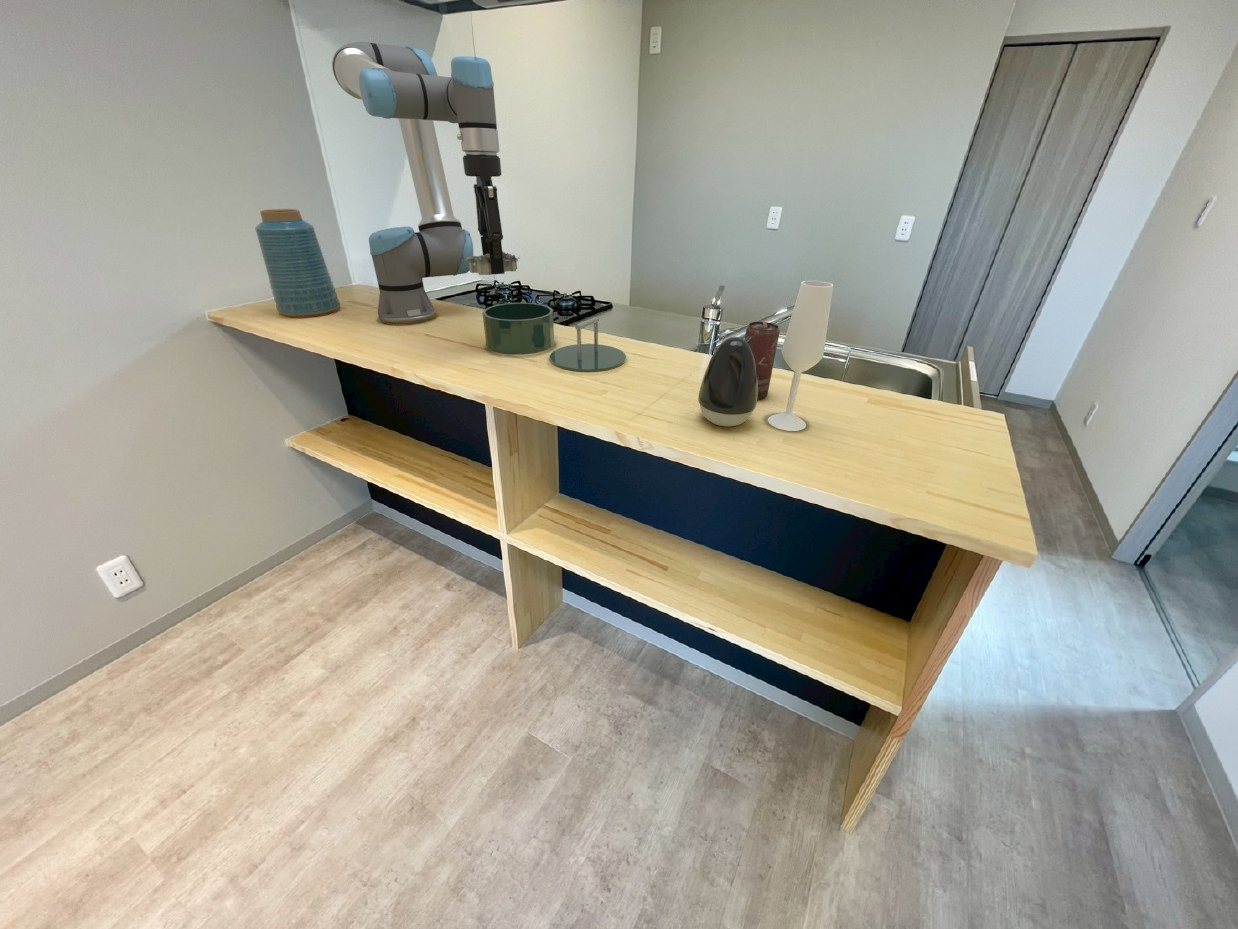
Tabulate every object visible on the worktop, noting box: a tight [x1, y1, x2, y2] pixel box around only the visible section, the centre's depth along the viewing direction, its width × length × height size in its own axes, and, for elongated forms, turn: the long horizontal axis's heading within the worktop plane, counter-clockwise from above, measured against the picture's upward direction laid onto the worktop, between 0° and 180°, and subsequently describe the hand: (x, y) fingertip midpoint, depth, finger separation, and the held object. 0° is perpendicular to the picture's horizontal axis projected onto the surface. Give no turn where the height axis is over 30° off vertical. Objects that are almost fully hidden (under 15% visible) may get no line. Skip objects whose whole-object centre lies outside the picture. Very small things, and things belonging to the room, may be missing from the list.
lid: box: [549, 316, 627, 373], centre depth 112 cm, size 18×18×9 cm
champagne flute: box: [767, 280, 834, 432], centre depth 82 cm, size 7×7×24 cm
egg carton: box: [466, 250, 521, 276], centre depth 112 cm, size 11×8×4 cm
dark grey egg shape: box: [697, 336, 758, 428], centre depth 85 cm, size 10×10×15 cm
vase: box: [254, 208, 341, 319], centre depth 139 cm, size 16×16×27 cm
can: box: [744, 320, 780, 401], centre depth 96 cm, size 6×6×14 cm
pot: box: [481, 302, 555, 356], centre depth 120 cm, size 17×17×8 cm
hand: (494, 269), depth 113 cm, fingers closed on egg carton, 9 cm apart
